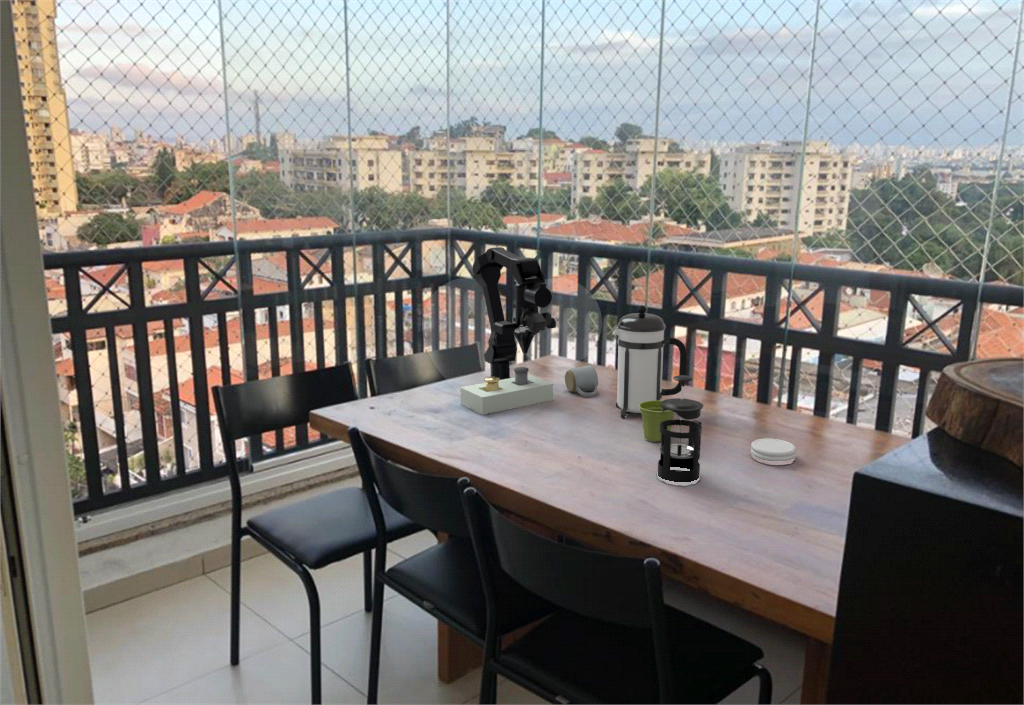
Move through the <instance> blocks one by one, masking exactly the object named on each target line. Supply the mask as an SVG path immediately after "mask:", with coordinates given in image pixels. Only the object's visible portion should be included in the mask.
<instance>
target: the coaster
mask: <svg viewBox="0 0 1024 705" xmlns="http://www.w3.org/2000/svg"><path fill="white" fill-rule="evenodd" d="M796 452H797V448H796V446H795V445H794V444H793V443H791V442H789V441H787V440H783V439H777V438H766V437H765V438H758V439H756V440H753V441H752V442H751V444H750V453H752V455H753V456H754V457H756V458H759V459H762V460H767V461H788V460H791V459H793V458H795V459H796V455H797V453H796Z"/></svg>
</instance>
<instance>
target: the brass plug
mask: <svg viewBox="0 0 1024 705" xmlns="http://www.w3.org/2000/svg"><path fill="white" fill-rule="evenodd" d="M484 381H485V382H484V383H486V392H489V391H495V390H499V383H498V381H500V378H499V377H491V376H486V377H484Z"/></svg>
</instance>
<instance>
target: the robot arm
mask: <svg viewBox="0 0 1024 705" xmlns="http://www.w3.org/2000/svg"><path fill="white" fill-rule="evenodd" d="M538 261H539V260H537V258H535V257H525V256H524V257H521V256H519V255H517V254H515V253H513V252H511V251H508V250H506V249H505V247H502V246H497V247H495V246H493V247H490V248H487V250H485V252H484V253H483V254H480V255H479V256H477V258H476V259H475V261H474V262H473V264H472V272H473V275H474V278H475V282H477V284H478V285H479V286H480V287H481V288H482V291H483V296H484V302H485V306H486V311H487V316H488V322H489V328H490V331H491V332H490V336H489V338H488V340H487V341H488V342H487V343H488V344H487V345H488V347H487V349H486V351H485V352H484V355H483V357H484V362H486V363H487V364H489V365H490V377H499V378H500V380H503V379H509V378H512V377H511V376H510V375H511V374H510V373H511V367H510V362H515V361H516V356H517V351H518V345H519V347H520V349H521V351H522V354H523V355H524V354H528V351H529V348H530V346H531V343H532V341H533V338H534V337H535V336H536V335H537V334H538V333H540V332H541V331H545V329H548V330H549V329H556V328H557V321H556V319H555V318H554V317H552V313H550V312H549V311H548V312H547V311H546V312H541V313H540V312H539V308H541V309H543V308H547V307H548V306H549V305H551V304H550V303H551V302H552V299H553V295H552V292H551V290H550V289H549V288H548V287H547V284H546V280H545V275H544V273H543V271H542V268H541V266H540V263H539V262H538ZM503 268H506V269H508V270H509V271H510V275H511V276H512V277H513V279H514V280H513V281H512V285H515V303H514V304H513V305H512V306H513V307H512V308H513V309H515V317H513V318H512V321H513V322H510V321H507V320H505V318H506V317H505V314H504V309H503V305H502V299H501V295H500V293H501V292H500V289H499V283H500V279H501V276H502V274H501V273H502V272H501V271H502V269H503ZM516 341H517V342H516ZM517 343H518V345H517Z"/></svg>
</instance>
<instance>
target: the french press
mask: <svg viewBox="0 0 1024 705" xmlns="http://www.w3.org/2000/svg"><path fill="white" fill-rule="evenodd" d="M672 379H673V380H674V381H676V382H678V381H680V386H682V389H681V391H680V392H681V395H680V397H679V398H678V397H677V398H667V399H664V400H661V401H662V402H661V403H660V405H661V407H662V413H663V412H664V411H665V410H671V411H673V412H675V413H674V414H676V415H678V417H679V419H678V418H677V419H674V418H673V420H666V421H663V422H661V423H660V428H659V431H660V433H661V442H660V448H659V450H660V459H659V460H658V461H657V472H658V476H659V477H661V478H662V479H665V480H669V481H674V482H691V481H694V480H697V479H698V478H699V475H700V471H701V469H700V468H701V463H700V462H699V460H700V458H701V456H700V455H701V441H702V438H701V437H702V433H703V432H702V430H703V427H702V421H699V420H696V419H699V418H700V417H701V415H702V414H701V410H702V409H704V404H703V403H702V402H700V401H697V400H695V399H689V398H684V387H685V386H686V385H685V384H686V382H692V381H693V377H691V376H690V375H686V376H685V375H679V374H678V375H675V376H673V377H672ZM683 386H684V387H683ZM667 426H671V427H672V426H679V431H672V430H671V431H669V430H667ZM682 426H685V427H688V432H682ZM672 438H673V439H678V443H672ZM685 439H688V441H687V442H688V443H687V444H685V443H681V441H682V440H685ZM670 467H680V468H687V469H690V471H675V470H670Z"/></svg>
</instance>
